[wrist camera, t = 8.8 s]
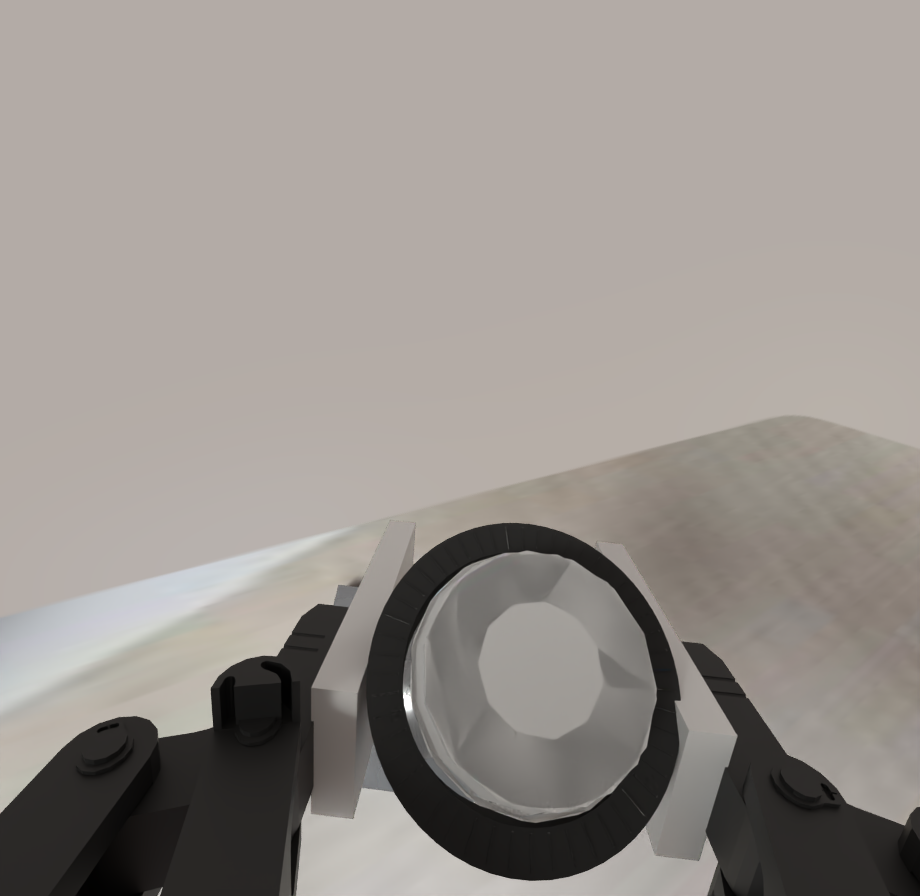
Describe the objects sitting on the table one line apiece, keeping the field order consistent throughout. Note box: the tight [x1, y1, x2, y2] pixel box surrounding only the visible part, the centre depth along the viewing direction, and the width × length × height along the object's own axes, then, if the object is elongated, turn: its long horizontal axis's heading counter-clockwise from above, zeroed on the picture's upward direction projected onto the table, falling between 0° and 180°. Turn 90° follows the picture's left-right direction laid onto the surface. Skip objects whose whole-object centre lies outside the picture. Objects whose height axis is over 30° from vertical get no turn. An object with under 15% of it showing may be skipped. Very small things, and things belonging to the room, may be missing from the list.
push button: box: [366, 523, 681, 881], centre depth 11 cm, size 7×5×10 cm
